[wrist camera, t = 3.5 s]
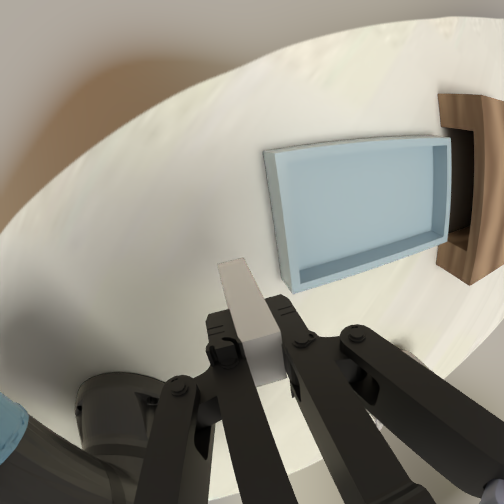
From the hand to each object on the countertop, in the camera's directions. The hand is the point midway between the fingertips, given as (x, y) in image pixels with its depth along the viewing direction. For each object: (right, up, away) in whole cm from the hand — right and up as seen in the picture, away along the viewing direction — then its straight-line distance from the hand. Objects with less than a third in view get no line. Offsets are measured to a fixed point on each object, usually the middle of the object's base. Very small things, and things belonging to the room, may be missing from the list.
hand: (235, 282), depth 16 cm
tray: (+12, +7, +10) cm, 18 cm away
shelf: (+31, +12, +13) cm, 35 cm away
